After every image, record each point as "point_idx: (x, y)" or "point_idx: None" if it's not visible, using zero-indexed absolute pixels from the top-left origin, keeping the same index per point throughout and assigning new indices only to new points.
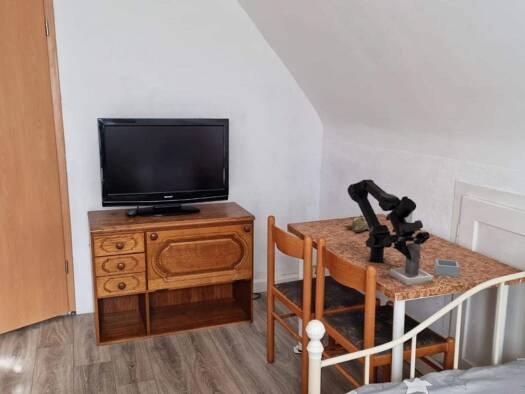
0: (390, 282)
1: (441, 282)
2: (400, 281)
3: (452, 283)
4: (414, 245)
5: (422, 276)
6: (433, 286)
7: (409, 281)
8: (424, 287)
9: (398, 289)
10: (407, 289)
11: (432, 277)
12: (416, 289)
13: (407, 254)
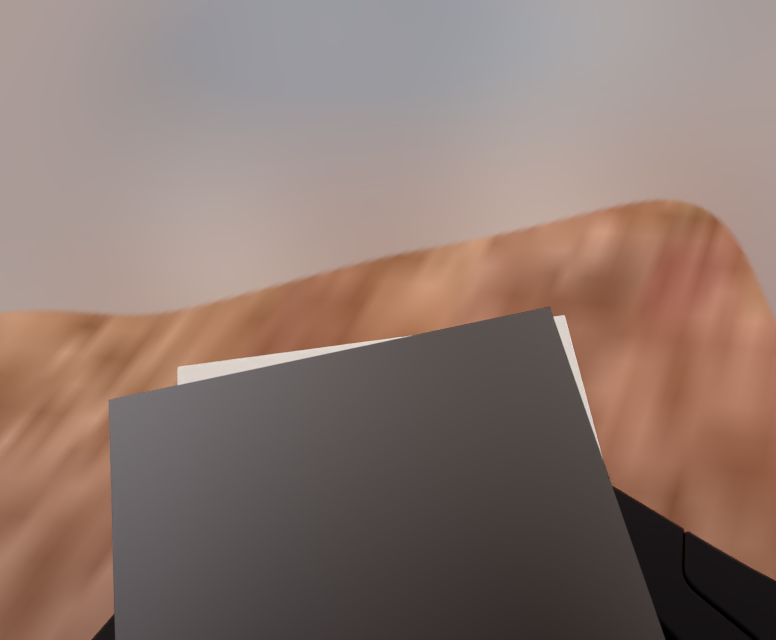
0: (707, 459)
1: (108, 382)
2: None
3: (14, 339)
4: (406, 444)
5: None
6: (268, 287)
7: None
8: (376, 274)
9: (669, 256)
10: (575, 246)
11: (196, 368)
12: (483, 237)
13: None
